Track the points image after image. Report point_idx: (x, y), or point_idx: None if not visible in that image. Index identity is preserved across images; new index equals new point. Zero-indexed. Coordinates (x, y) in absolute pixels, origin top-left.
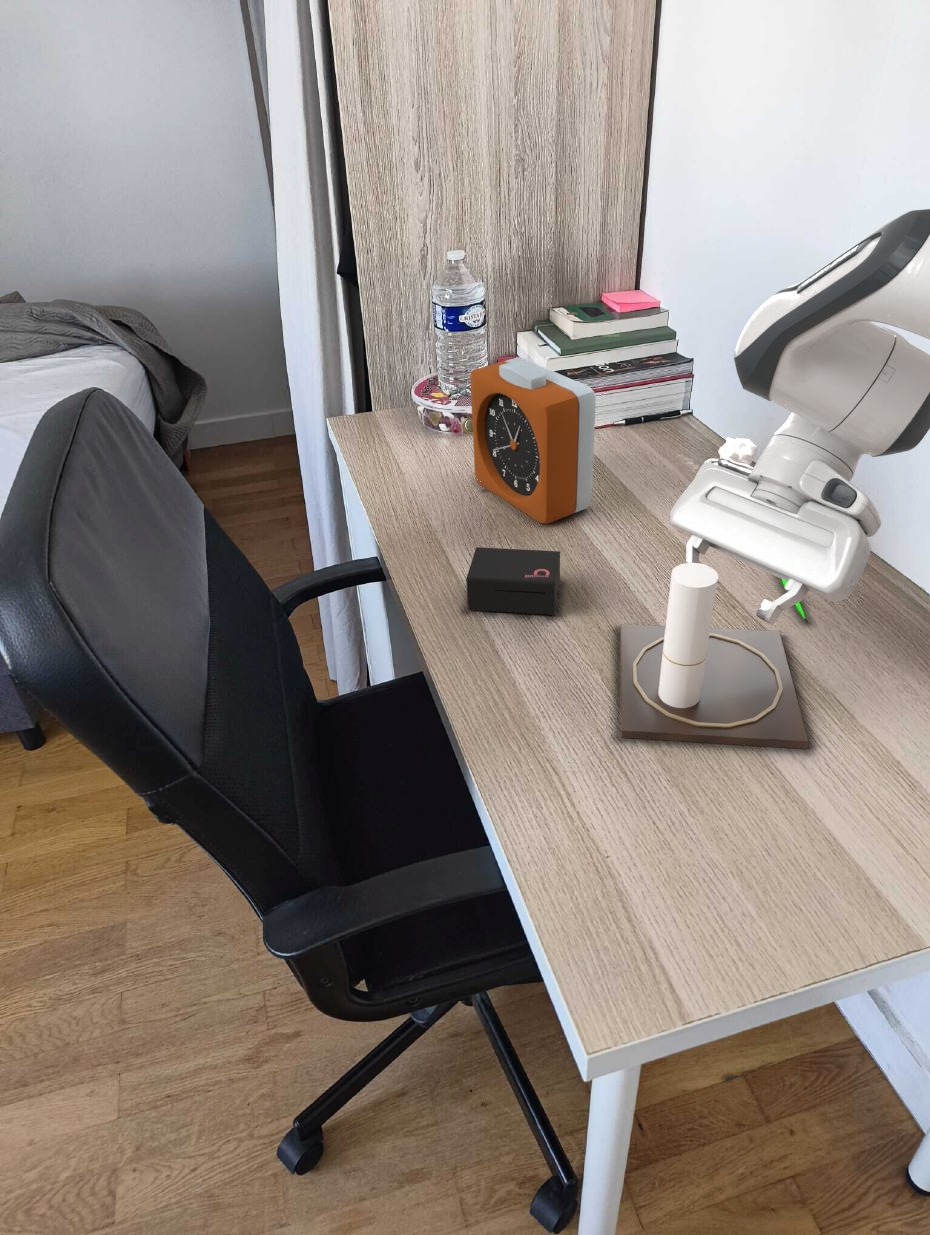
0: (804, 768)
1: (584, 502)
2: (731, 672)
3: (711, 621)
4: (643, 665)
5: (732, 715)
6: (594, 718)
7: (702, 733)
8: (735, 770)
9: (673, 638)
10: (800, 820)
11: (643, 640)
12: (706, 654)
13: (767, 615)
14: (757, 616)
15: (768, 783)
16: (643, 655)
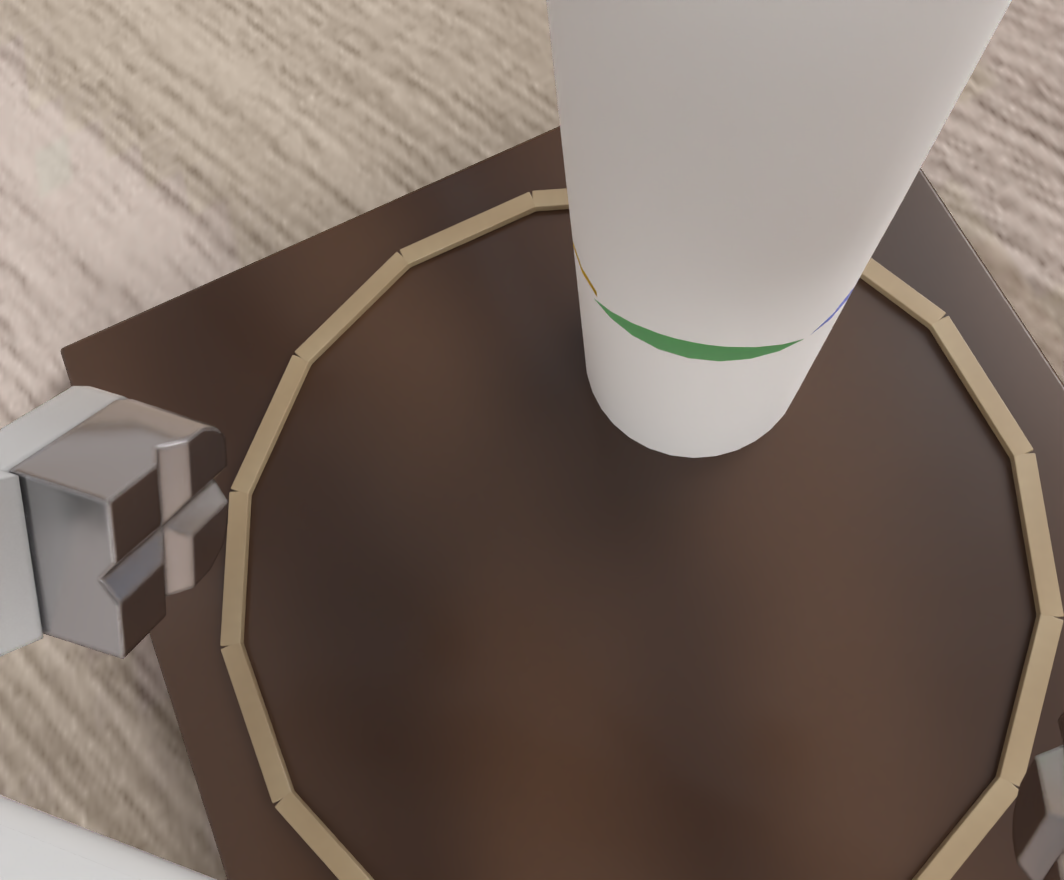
0: (80, 258)
1: None
2: (511, 668)
3: (550, 34)
4: (974, 481)
5: (406, 341)
6: (976, 83)
7: (492, 165)
8: (324, 116)
9: None
10: (64, 23)
11: None
12: (571, 229)
13: (93, 395)
14: (222, 459)
15: (195, 119)
16: (1023, 563)
